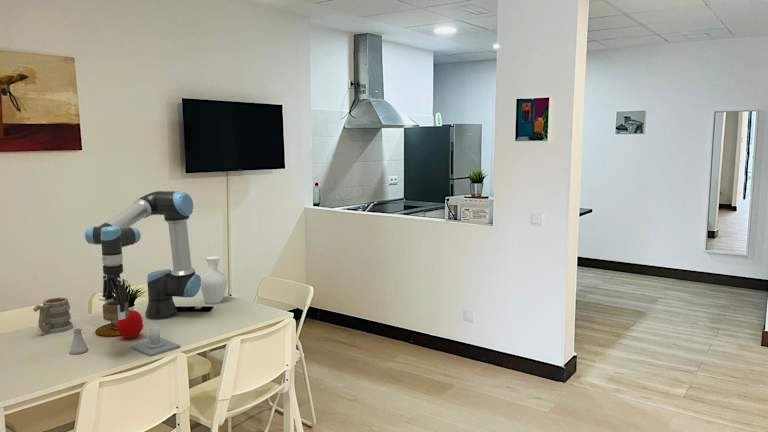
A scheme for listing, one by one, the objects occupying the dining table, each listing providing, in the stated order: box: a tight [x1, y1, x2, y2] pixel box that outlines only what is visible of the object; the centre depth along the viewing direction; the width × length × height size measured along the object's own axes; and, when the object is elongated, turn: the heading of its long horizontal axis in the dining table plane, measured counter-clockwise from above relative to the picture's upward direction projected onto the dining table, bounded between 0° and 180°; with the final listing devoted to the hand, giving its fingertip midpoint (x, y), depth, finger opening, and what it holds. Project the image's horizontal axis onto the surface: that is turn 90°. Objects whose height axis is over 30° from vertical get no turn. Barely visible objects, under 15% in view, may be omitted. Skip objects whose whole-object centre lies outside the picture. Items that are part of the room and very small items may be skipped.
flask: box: [68, 327, 89, 355], centre depth 247 cm, size 7×7×10 cm
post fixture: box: [130, 324, 181, 357], centre depth 252 cm, size 16×14×10 cm
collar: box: [102, 300, 130, 322], centre depth 243 cm, size 9×9×6 cm
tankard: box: [32, 297, 74, 334], centre depth 273 cm, size 20×13×15 cm, turn 168°
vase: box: [200, 255, 228, 305], centre depth 322 cm, size 14×14×25 cm
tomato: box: [115, 309, 144, 339], centre depth 265 cm, size 11×11×13 cm
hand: (116, 316), depth 243 cm, fingers closed on collar, 9 cm apart
